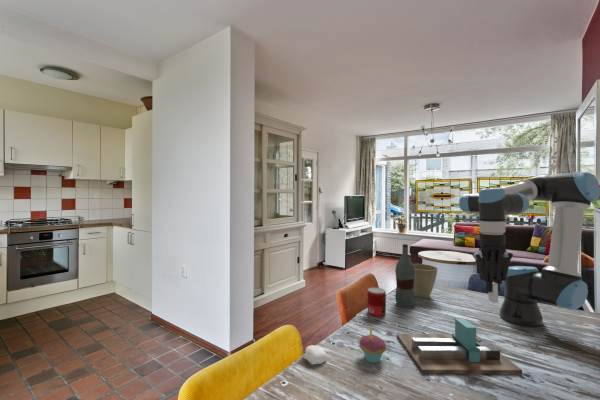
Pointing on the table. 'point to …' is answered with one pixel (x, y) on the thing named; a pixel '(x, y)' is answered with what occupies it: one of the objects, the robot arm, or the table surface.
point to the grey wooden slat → (434, 342)
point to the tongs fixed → (459, 352)
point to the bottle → (405, 280)
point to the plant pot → (424, 280)
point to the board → (456, 365)
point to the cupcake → (372, 347)
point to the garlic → (315, 355)
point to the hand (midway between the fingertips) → (493, 301)
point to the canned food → (377, 302)
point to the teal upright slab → (467, 338)
